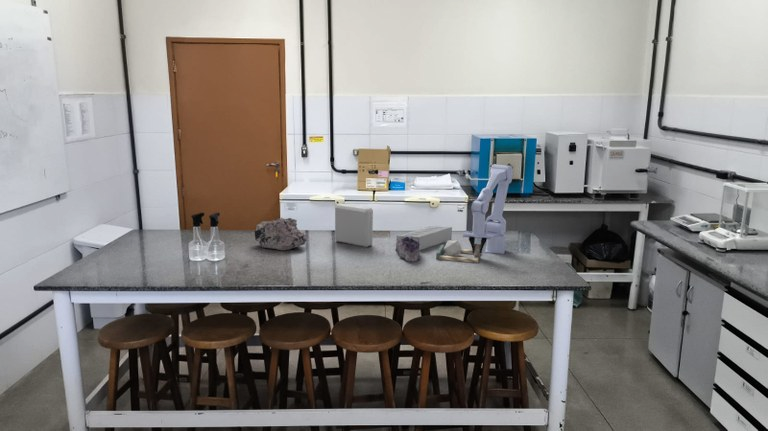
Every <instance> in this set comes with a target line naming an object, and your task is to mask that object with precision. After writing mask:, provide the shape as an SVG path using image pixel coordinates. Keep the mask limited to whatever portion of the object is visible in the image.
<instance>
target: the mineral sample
mask: <svg viewBox="0 0 768 431" xmlns="http://www.w3.org/2000/svg"><path fill="white" fill-rule="evenodd" d="M297 222H298V221H297V219H294V218H292V217H288V218H283V217H280V218H277V219H276V220H275V219H271V220H269V221H261V222H260V223H258V224H257V225H256V227H255V230H254V239H255V241H256V242H258V244H259V245H260V246H261V248H263V249H273V250H279V251H287V250H288V251H289V250H293V249H295V248H297V247H302V246H304V245H305V244H306V242H307V235H306V234H305V233H304V232H302V231H301V230H299V228H298V227H297V225H298V223H297Z"/></svg>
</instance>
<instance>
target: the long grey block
mask: <svg viewBox="0 0 768 431" xmlns="http://www.w3.org/2000/svg"><path fill="white" fill-rule="evenodd" d="M452 230H453V227H452V226H451V227H449V226H432V225H431V226H426V227H423V228H419V229H416V230H412V231H409V232H406V233H402V234H399V235H396V242H397V241H398V239H403V238H405V237H409V238H412V239H413V240H415V241H419V243H420V245H419V251H422V250H424V249H427V248H431V247H434V246H436V245H439V244H440V245H441V244H442V243H447V241H448V240H452V235H453V233H452V232H453V231H452Z"/></svg>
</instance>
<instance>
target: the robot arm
mask: <svg viewBox="0 0 768 431" xmlns="http://www.w3.org/2000/svg"><path fill="white" fill-rule="evenodd" d="M489 175H490V177H489V179H488V181H487V184H486V186H485V187H484V188H482V189H481V191H480V193H479V195H478V197H477V198H476V200H473V201H472V202H471V207H470V209H471V215H472V232H463V233H462V238H468V241H469V243H470V247H471V250H472V251H473V253H474V245H475V244H476V243H475V242H476V239H481V240H480V244H481V250H480V254H482V253H483V249H484V247H485V245H486V247H485V250H484V253H486V254H489V253H490V254H501V255H505V251H506V237H507V236H506V235H505V233H506V231H507V220H506V219H505V218H504V217H503V213H504V209H505V204H506V199H507V194H508V189H509V185H510V184H511V183H512V181H513V175H514V168H513V166H512V165H505V164H496V163H494V164H492V165H491V168H490V174H489ZM496 186H497V189H496ZM494 189H496V194H495V199H494V202H493V208H492V212H491V213H492V214H490V215H488V216H487V217H486V213H487V212H488V211H489V206H490V202H491V200H492V197H493V195H494V193H493V191H494Z"/></svg>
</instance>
